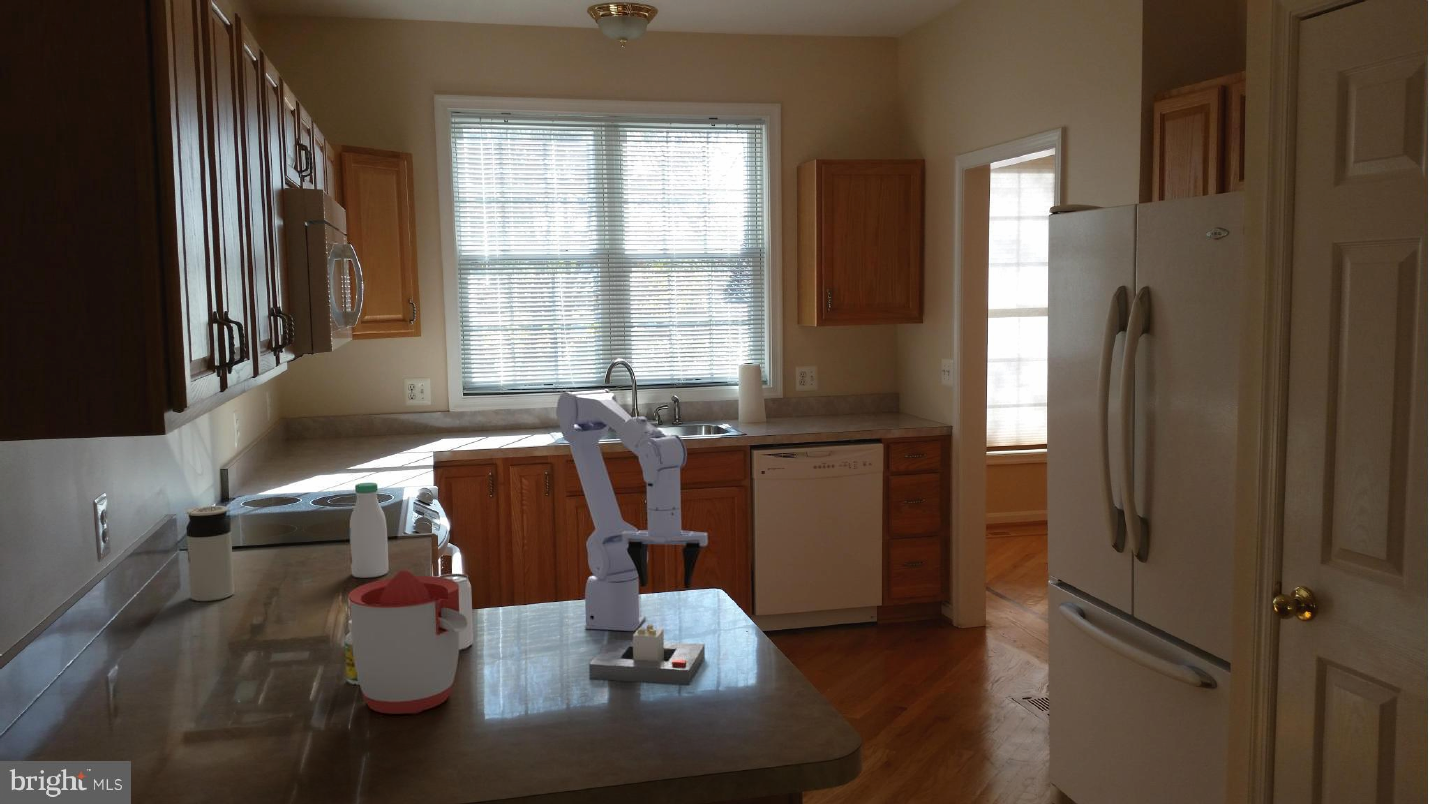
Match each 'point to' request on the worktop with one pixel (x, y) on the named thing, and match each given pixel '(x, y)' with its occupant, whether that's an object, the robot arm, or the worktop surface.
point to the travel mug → (210, 554)
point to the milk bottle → (368, 534)
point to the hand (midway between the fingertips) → (665, 586)
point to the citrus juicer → (406, 641)
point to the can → (464, 607)
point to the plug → (648, 644)
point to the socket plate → (647, 663)
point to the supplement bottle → (350, 658)
